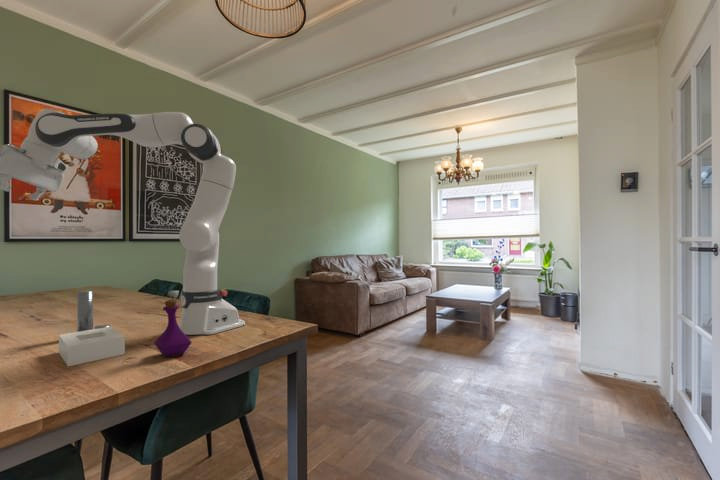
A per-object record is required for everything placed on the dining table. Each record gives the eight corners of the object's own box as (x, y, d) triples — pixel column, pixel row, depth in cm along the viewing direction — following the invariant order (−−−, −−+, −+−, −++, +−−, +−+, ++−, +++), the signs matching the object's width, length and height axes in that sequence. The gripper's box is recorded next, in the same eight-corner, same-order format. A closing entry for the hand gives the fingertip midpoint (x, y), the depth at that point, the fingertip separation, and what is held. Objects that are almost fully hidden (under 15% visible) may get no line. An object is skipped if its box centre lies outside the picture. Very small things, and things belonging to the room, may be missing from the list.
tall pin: (91, 334, 111) (91, 290, 111) (94, 336, 109) (94, 291, 109) (76, 336, 108) (76, 291, 108) (78, 339, 106) (78, 292, 106)
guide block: (110, 342, 102) (110, 326, 102) (124, 354, 92) (124, 336, 92) (58, 352, 93) (58, 334, 93) (67, 366, 83) (67, 346, 83)
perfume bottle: (153, 354, 92) (153, 290, 92) (182, 348, 97) (182, 287, 97) (162, 361, 87) (162, 293, 87) (191, 354, 92) (192, 290, 92)
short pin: (108, 337, 108) (108, 323, 108) (112, 340, 105) (112, 326, 105) (93, 340, 105) (93, 326, 105) (96, 343, 102) (96, 328, 102)
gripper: (15, 143, 96) (-6, 186, 94) (72, 170, 117) (56, 206, 114) (-6, 138, 96) (-27, 181, 94) (55, 165, 117) (38, 201, 114)
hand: (19, 195), depth 104 cm, fingers open, 8 cm apart
